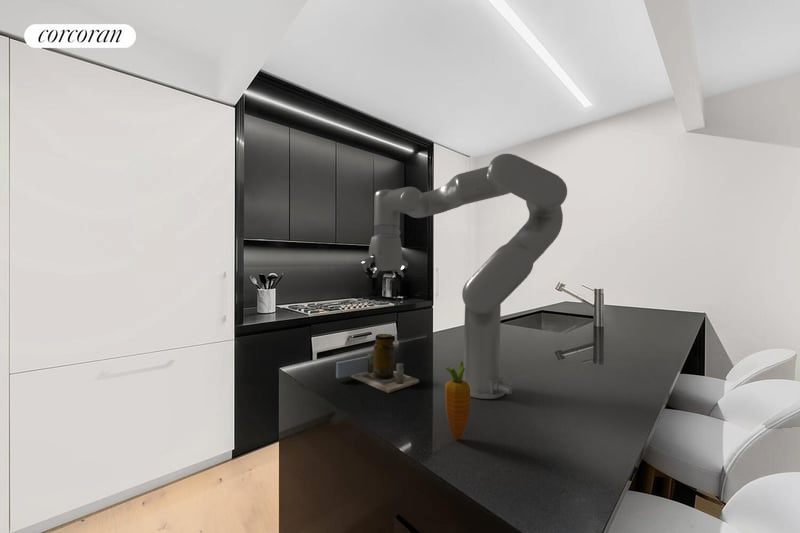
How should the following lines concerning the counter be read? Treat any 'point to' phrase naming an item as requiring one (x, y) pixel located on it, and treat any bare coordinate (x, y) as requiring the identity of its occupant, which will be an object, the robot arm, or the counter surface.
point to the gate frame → (387, 386)
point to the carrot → (457, 401)
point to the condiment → (383, 358)
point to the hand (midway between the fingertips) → (385, 290)
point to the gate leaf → (351, 367)
